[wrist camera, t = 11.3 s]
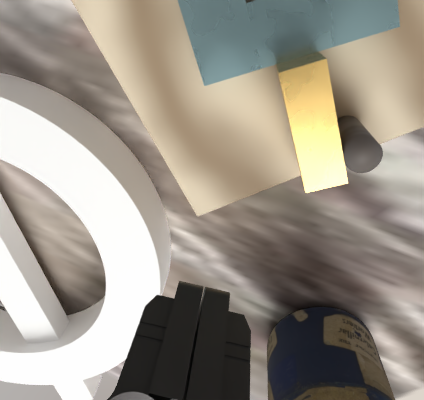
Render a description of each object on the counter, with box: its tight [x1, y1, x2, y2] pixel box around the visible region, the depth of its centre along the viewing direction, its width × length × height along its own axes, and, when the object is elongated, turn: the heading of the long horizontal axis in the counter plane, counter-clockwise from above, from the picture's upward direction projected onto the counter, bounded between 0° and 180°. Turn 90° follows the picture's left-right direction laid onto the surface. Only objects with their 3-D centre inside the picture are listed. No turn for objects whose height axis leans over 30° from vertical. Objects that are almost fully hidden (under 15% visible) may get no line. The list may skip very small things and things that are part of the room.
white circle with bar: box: [0, 73, 171, 400], centre depth 32 cm, size 28×28×5 cm
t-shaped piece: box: [178, 0, 400, 193], centre depth 20 cm, size 18×11×4 cm, turn 17°
